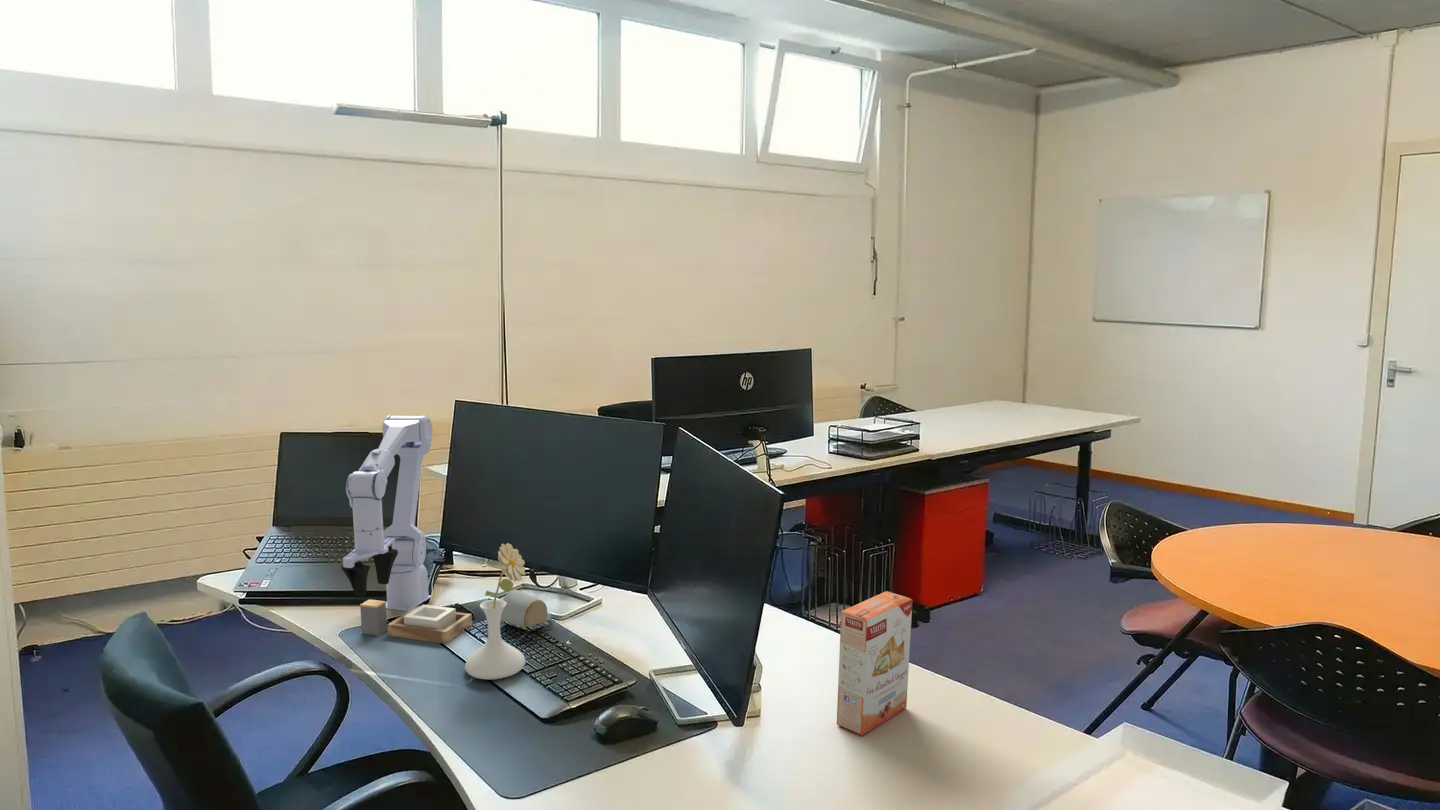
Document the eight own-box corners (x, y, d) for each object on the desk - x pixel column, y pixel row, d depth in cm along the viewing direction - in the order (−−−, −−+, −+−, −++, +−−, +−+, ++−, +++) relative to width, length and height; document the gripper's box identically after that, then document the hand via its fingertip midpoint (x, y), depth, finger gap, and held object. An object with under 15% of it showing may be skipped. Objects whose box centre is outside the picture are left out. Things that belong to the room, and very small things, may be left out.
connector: (371, 630, 193) (369, 599, 192) (387, 632, 192) (385, 601, 191) (362, 635, 190) (360, 604, 189) (378, 637, 189) (376, 606, 188)
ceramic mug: (526, 638, 189) (525, 603, 188) (498, 629, 193) (497, 595, 192) (560, 622, 198) (560, 588, 197) (533, 614, 202) (532, 581, 201)
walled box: (416, 619, 198) (415, 607, 198) (472, 627, 195) (471, 614, 194) (388, 637, 189) (387, 624, 188) (446, 645, 185) (445, 632, 185)
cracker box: (864, 738, 150) (868, 619, 147) (835, 725, 154) (838, 610, 151) (909, 709, 160) (914, 597, 157) (881, 697, 164) (885, 588, 161)
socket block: (423, 621, 196) (423, 604, 195) (456, 626, 194) (455, 608, 193) (404, 634, 189) (403, 616, 189) (437, 638, 187) (437, 620, 187)
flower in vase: (493, 691, 166) (488, 561, 162) (452, 675, 172) (447, 550, 168) (544, 665, 176) (540, 543, 172) (503, 651, 183) (499, 533, 179)
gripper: (362, 539, 179) (366, 604, 181) (406, 519, 193) (409, 580, 195) (332, 536, 181) (336, 600, 183) (377, 517, 195) (381, 576, 197)
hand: (372, 589), depth 189 cm, fingers open, 7 cm apart
